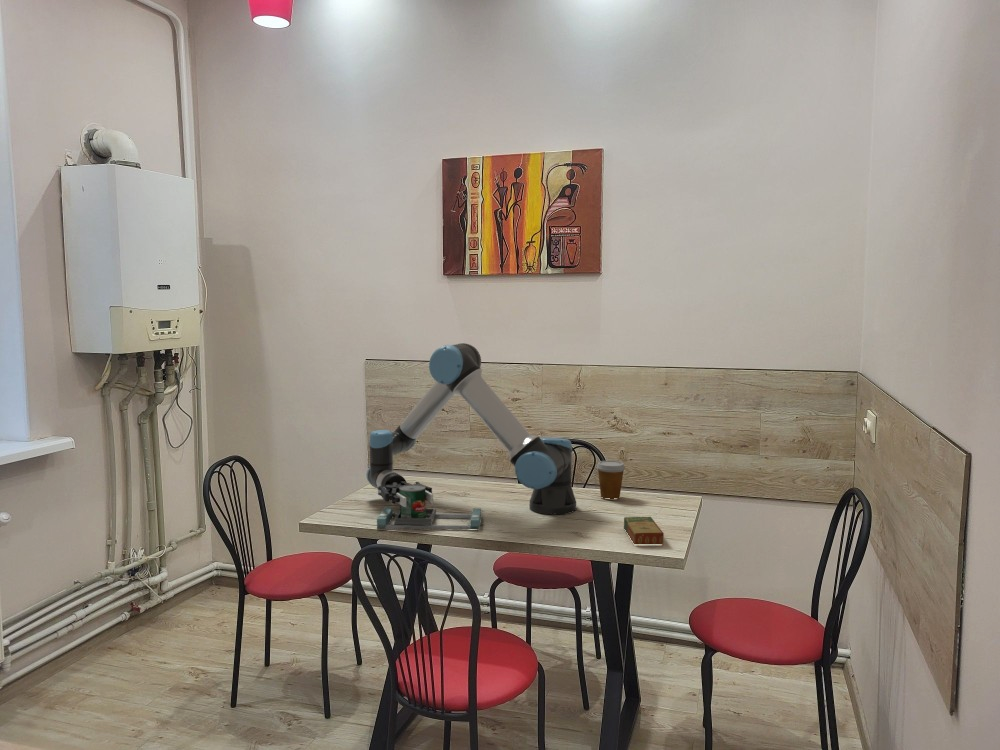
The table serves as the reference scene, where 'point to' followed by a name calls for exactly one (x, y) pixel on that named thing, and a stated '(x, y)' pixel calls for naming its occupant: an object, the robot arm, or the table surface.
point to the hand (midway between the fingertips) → (418, 500)
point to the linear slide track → (388, 511)
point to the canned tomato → (413, 501)
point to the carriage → (416, 519)
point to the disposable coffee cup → (610, 478)
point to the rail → (400, 526)
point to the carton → (643, 530)
